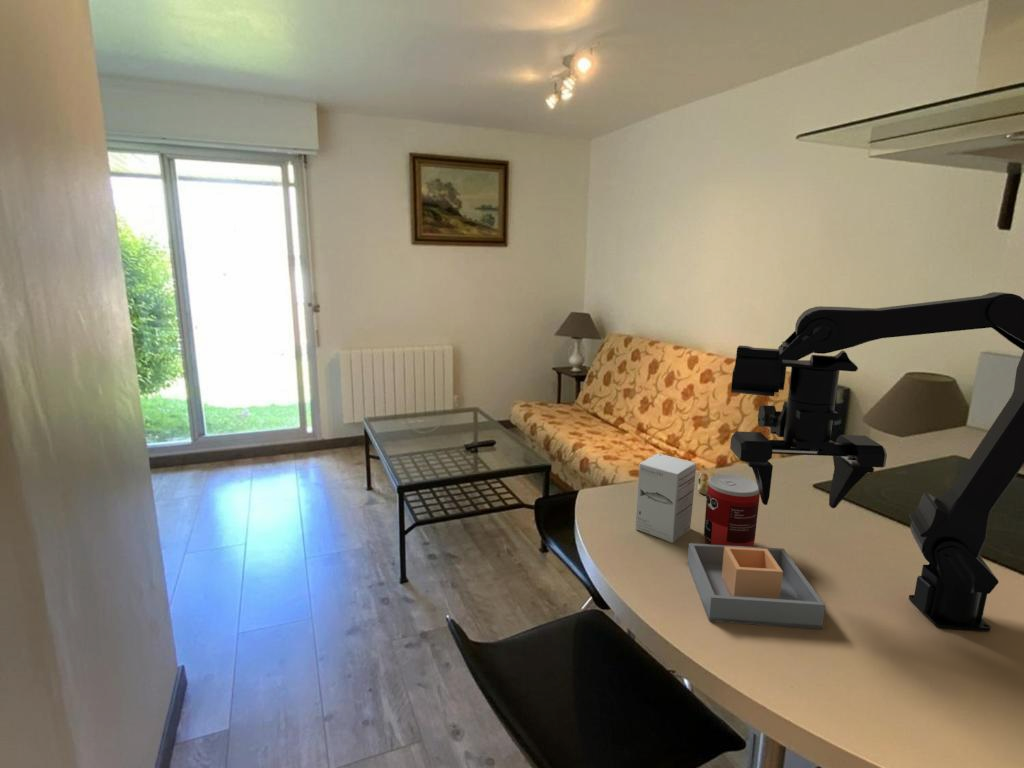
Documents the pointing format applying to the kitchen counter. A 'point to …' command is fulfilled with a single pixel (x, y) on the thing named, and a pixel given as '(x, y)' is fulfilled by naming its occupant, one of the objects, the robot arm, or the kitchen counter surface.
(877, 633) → the kitchen counter surface
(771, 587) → the small crate
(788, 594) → the grey square tray
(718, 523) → the canned food
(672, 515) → the supplement box
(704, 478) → the pastry
